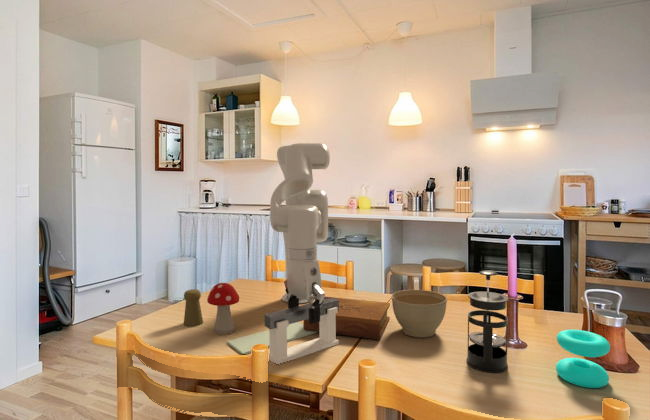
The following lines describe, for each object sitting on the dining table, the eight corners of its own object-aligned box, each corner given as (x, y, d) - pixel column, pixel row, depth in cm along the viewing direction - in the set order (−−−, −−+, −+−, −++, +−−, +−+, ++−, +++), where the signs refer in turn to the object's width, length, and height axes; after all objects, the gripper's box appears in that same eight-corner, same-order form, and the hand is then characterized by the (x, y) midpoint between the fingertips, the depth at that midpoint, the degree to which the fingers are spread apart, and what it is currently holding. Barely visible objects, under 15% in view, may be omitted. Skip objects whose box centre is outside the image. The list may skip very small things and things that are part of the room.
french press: (466, 352, 102) (467, 265, 101) (506, 357, 99) (507, 268, 97) (465, 372, 91) (467, 276, 90) (510, 379, 88) (512, 279, 86)
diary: (303, 331, 117) (303, 312, 116) (323, 312, 134) (322, 296, 134) (379, 340, 110) (379, 320, 109) (389, 319, 127) (389, 302, 127)
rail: (332, 308, 112) (332, 297, 111) (339, 310, 109) (338, 300, 109) (264, 326, 98) (264, 314, 98) (270, 329, 96) (270, 317, 96)
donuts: (618, 347, 81) (564, 342, 84) (616, 393, 82) (562, 387, 84) (600, 329, 90) (551, 325, 93) (598, 371, 91) (550, 366, 94)
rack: (327, 338, 113) (326, 302, 112) (339, 344, 108) (338, 307, 108) (266, 357, 100) (265, 318, 100) (277, 365, 96) (276, 323, 95)
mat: (297, 323, 125) (297, 321, 125) (316, 332, 117) (316, 330, 117) (227, 343, 110) (227, 341, 110) (243, 355, 102) (243, 353, 102)
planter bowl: (447, 325, 121) (447, 291, 121) (445, 346, 106) (446, 307, 105) (395, 320, 127) (395, 287, 126) (387, 339, 111) (387, 301, 111)
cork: (197, 327, 123) (195, 293, 122) (179, 326, 124) (178, 292, 123) (206, 320, 129) (205, 288, 128) (189, 319, 130) (188, 287, 129)
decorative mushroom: (201, 334, 117) (200, 285, 116) (219, 324, 125) (218, 278, 124) (229, 338, 113) (228, 288, 112) (246, 328, 121) (244, 281, 120)
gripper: (334, 256, 98) (335, 323, 99) (296, 248, 112) (297, 307, 113) (310, 260, 93) (311, 330, 95) (273, 251, 107) (274, 312, 108)
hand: (303, 317), depth 104 cm, fingers open, 9 cm apart
